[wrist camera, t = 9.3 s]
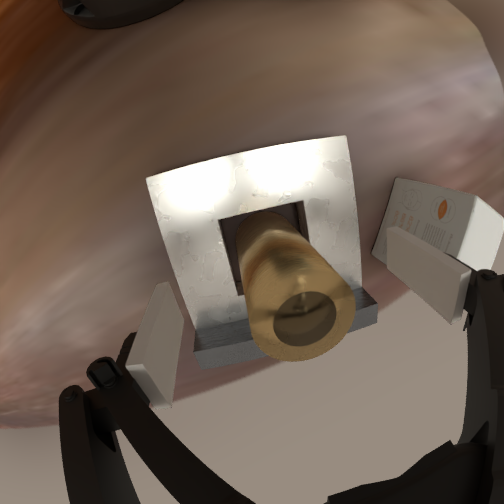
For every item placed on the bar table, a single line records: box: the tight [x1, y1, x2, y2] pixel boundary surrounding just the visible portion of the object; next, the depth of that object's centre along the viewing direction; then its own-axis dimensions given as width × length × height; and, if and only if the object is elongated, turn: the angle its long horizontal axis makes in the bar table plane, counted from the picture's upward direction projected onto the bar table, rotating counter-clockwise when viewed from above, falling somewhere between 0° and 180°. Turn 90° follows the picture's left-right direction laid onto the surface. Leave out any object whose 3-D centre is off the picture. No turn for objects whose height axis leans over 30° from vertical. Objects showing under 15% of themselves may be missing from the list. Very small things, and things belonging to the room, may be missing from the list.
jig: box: [146, 135, 378, 370], centre depth 21 cm, size 15×15×6 cm
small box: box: [371, 177, 504, 271], centre depth 19 cm, size 8×6×10 cm
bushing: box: [235, 211, 356, 362], centre depth 18 cm, size 5×5×12 cm
